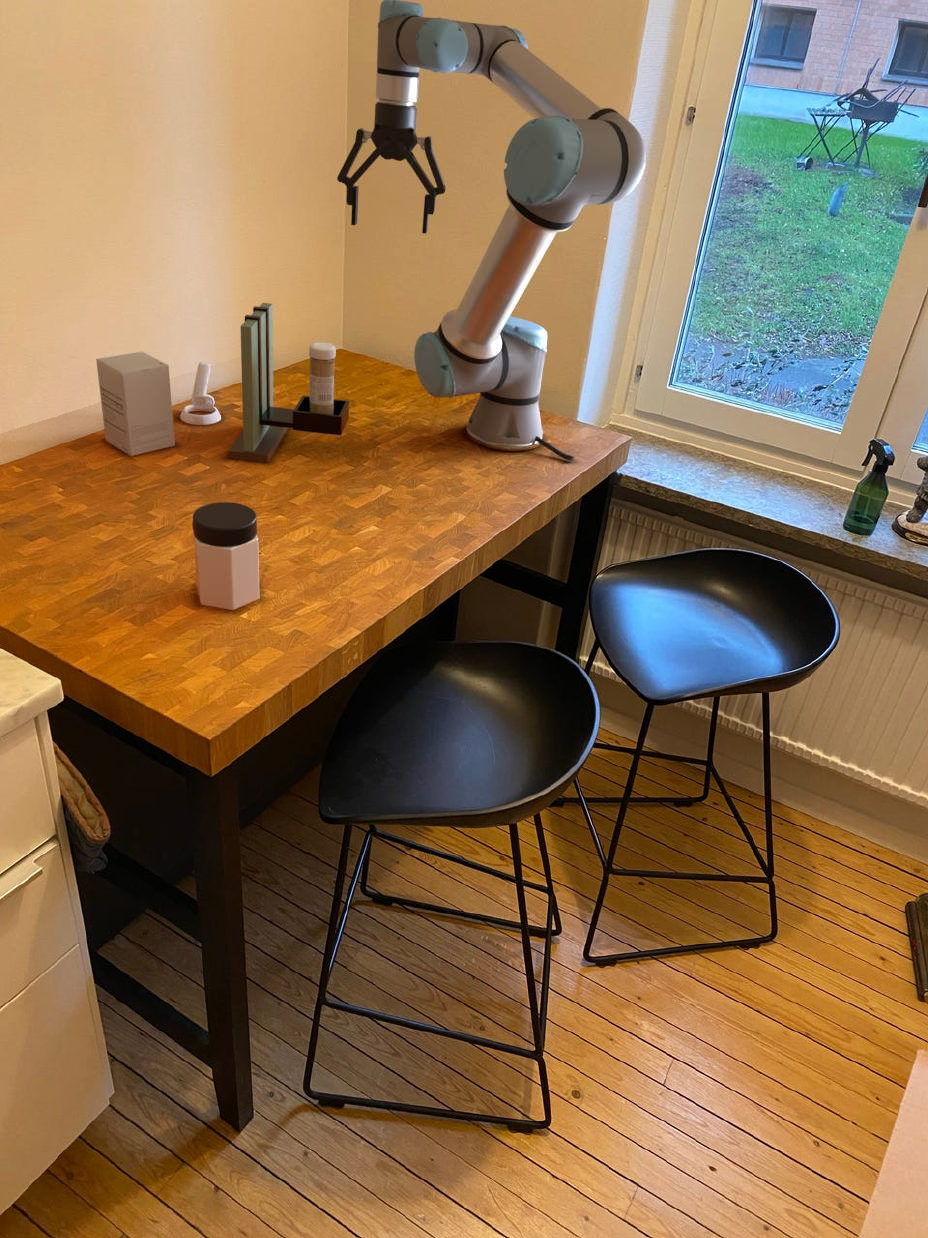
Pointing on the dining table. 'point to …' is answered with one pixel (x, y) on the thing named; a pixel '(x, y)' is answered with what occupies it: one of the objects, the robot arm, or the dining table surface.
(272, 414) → the black tray bracket
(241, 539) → the jar
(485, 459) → the dining table surface
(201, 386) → the white vr controller
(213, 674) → the dining table surface
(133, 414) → the rectangular carton
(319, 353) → the sprinkles bottle
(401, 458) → the dining table surface
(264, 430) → the green slatted stand
